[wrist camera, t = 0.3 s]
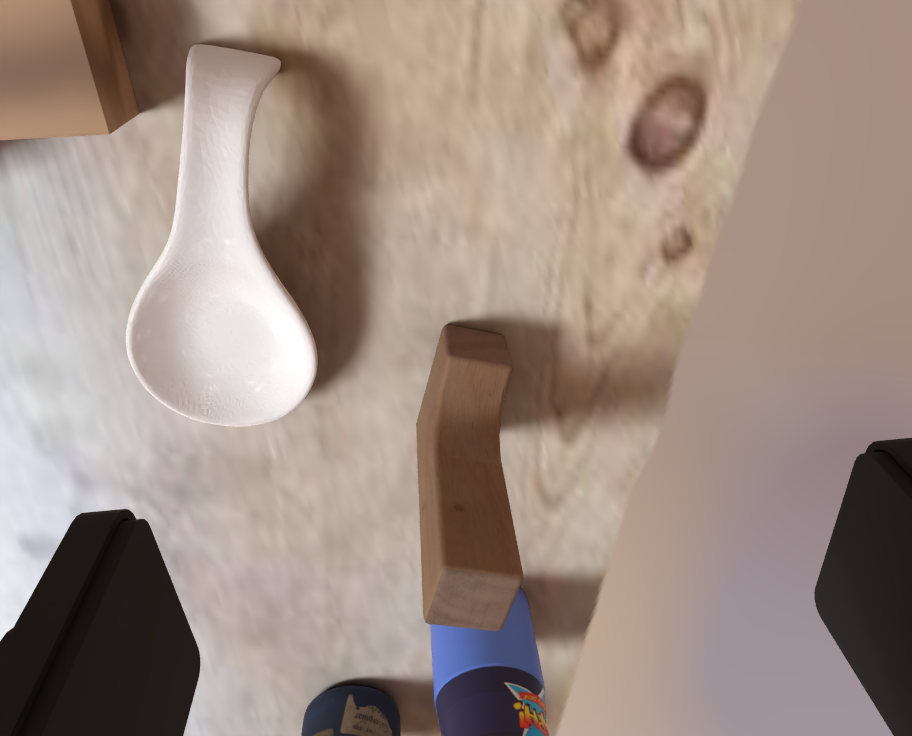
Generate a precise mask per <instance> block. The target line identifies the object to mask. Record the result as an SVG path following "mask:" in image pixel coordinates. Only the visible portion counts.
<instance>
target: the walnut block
mask: <svg viewBox="0 0 912 736" xmlns="http://www.w3.org/2000/svg"><path fill="white" fill-rule="evenodd" d="M138 114H139V111H138V107H137V103H136V99H135V96H134V92H133V88H132V84H131V81H130V77H129V73H128V69H127V66H126V62H125V58H124V54H123V51H122V47H121V43H120V39H119V36H118V32H117V28H116V24H115V21H114V17H113V13H112V9H111V6H110V2H109V0H0V140H14V139H32V138H50V137H68V136H86V135H104V134H111V133H112V132H113V131H115V130H116V129H118V128H119V127H121V126H122V125H123V124H125V123H126V122H128V121H129V120H131V119H132V118H134V117H135V116H136V115H138Z"/></svg>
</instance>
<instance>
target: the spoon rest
mask: <svg viewBox="0 0 912 736" xmlns="http://www.w3.org/2000/svg"><path fill="white" fill-rule="evenodd" d="M280 67H281V61H280V60H279V59H277V58H275V57H272V56H267V55H263V54H258V53H252V52H246V51H241V50H236V49H230V48H224V47H218V46H212V45H203V44H196V45H193V46H192V47H191V49H190V51H189V54H188V58H187V63H186V86H185V104H184V121H183V135H182V147H181V157H180V167H179V177H178V188H177V199H176V207H175V213H174V220H173V225H172V230H171V233H170V237H169V239H168V242H167V244H166V246H165V249H164V250H163V252H162V254H161V256H160V258H159V259H158V261H157V262H156V264H155V265H154V267H153V268H152V270H151V271H150V273H149V274H148V276H147V278H146V279H145V281H144V283H143V285H142V286H141V288H140V290H139V292H138V294H137V296H136V298H135V301H134V303H133V306H132V308H131V311H130V314H129V318H128V322H127V328H126V346H127V353H128V358H129V360H130V363H131V366H132V368H133V370H134V372H135V374H136V375H137V377H138V379H139V380H140V382H141V383H142V384H143V386H144V387H145V388H146V389H147V391H148V392H149V393H151V394H152V395H153V396H154V397H155V398H156V399H157V400H158V401H160V402H161V403H162V404H163V405H165V406H167V407H168V408H170V409H171V410H173V411H175V412H177V413H179V414H181V415H183V416H185V417H188V418H191V419H193V420H196V421H200V422H204V423H209V424H216V425H223V426H237V427H243V426H253V425H260V424H264V423H268V422H272V421H275V420H277V419H280V418H282V417H283V416H285V415H287V414H289V413H290V412H292V411H293V410H294V409H295V408H297V407H298V406H299V405H300V404H301V403H302V402H303V400H304V399H305V398H306V396H307V395H308V393H309V391H310V390H311V388H312V386H313V383H314V381H315V377H316V374H317V367H318V356H317V349H316V344H315V340H314V338H313V335H312V332H311V329H310V327H309V325H308V323H307V321H306V319H305V317H304V316H303V314H302V312H301V311H300V309H299V307H298V306H297V304H296V303H295V301H294V300H293V298H292V297H291V295H290V294H289V292H288V291H287V290H286V288H285V287H284V285H283V284H282V283H281V281H280V280H279V278H278V277H277V275H276V274H275V272H274V271H273V269H272V267H271V266H270V264H269V262H268V261H267V259H266V257H265V255H264V253H263V251H262V249H261V247H260V245H259V242H258V240H257V237H256V235H255V232H254V229H253V225H252V221H251V216H250V209H249V195H248V164H249V146H250V137H251V131H252V125H253V121H254V116H255V113H256V109H257V107H258V104H259V101H260V98H261V96H262V94H263V92H264V90H265V89H266V87H267V86H268V84H269V83H270V81H271V80H272V79H273V78H274V77H275V75H276V74H277V73H278V71H279V69H280Z"/></svg>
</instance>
